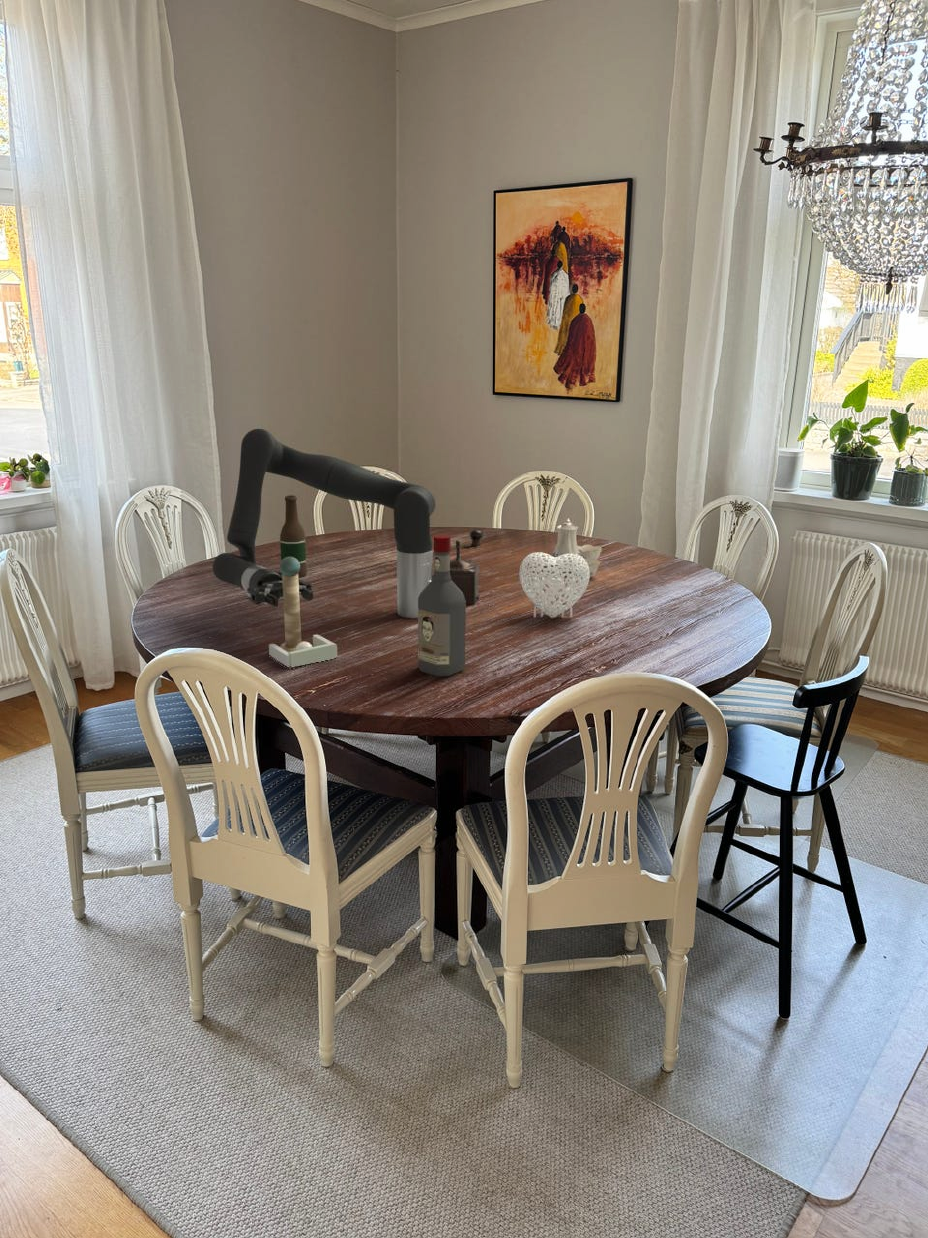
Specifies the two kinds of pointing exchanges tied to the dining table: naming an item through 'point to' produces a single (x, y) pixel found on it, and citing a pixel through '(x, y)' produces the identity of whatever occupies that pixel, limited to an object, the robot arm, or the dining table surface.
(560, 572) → the decorative heart
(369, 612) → the dining table surface
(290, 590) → the post
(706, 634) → the dining table surface
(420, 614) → the liquor
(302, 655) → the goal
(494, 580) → the dining table surface
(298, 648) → the ball
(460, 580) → the manual coffee grinder
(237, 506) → the robot arm
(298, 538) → the beer bottle
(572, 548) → the chinaware
